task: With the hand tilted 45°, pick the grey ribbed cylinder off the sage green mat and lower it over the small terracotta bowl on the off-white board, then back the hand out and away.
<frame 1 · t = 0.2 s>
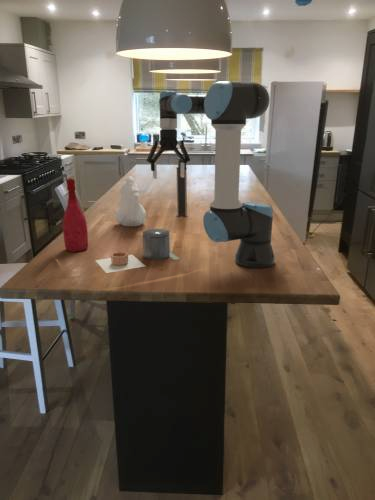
hand: (168, 177, 184), 27 cm above the countertop, tool pointing down, fingers open, 13 cm apart
board: (120, 265, 154), on the countertop
wine bottle: (77, 249, 174), on the countertop
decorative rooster: (131, 226, 208), on the countertop
bowl: (119, 263, 154), resting on board
mat: (156, 257, 163), on the countertop
grey ribbed cylinder: (156, 256, 163), point 1 cm above the countertop, touching mat
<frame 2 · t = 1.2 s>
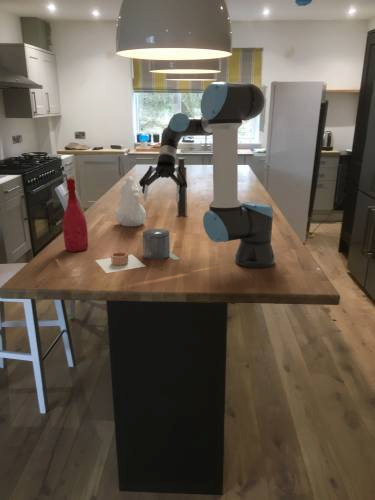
hand: (160, 200, 166), 21 cm above the countertop, tool tilted 45°, fingers open, 13 cm apart
nothing on the countertop moved.
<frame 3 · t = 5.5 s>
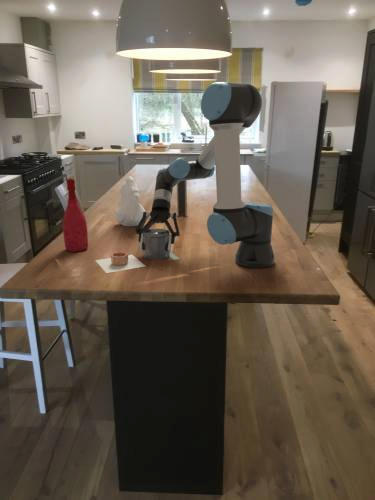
hand: (155, 250, 159), 4 cm above the countertop, tool tilted 45°, fingers closed on grey ribbed cylinder, 11 cm apart
grey ribbed cylinder: (156, 256, 163), point 1 cm above the countertop, touching gripper, mat
everything else where it was.
when the fingers open (6 cm above the countertop, at t = 11.3 s): grey ribbed cylinder drops 2 cm, resting on board.
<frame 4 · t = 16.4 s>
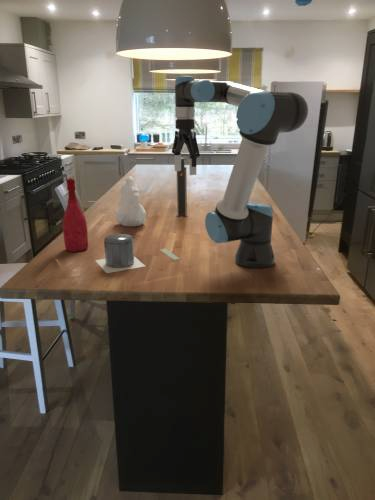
hand: (185, 172, 167), 32 cm above the countertop, tool pointing down, fingers open, 13 cm apart
grey ribbed cylinder: (120, 263, 154), point 1 cm above the countertop, touching board
everything else where it was.
at the end: grey ribbed cylinder 0.1 cm from the bowl (horizontally); grey ribbed cylinder point 1.0 cm above the countertop; grey ribbed cylinder tilted 0° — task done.
